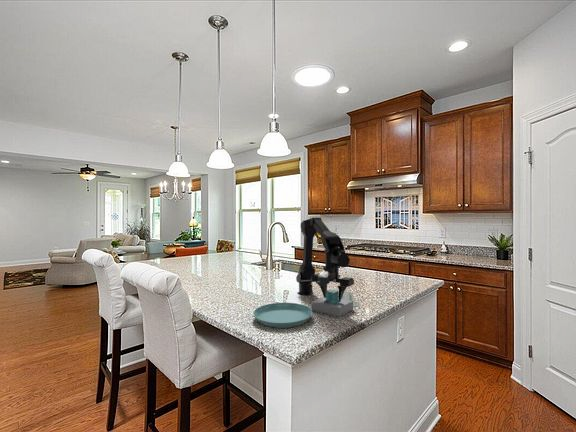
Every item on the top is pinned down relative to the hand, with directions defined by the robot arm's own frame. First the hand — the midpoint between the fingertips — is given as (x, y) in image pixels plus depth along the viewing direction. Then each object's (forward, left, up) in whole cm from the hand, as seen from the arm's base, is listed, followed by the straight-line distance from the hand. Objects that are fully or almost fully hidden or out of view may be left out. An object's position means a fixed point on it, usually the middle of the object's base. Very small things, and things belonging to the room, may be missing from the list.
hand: (332, 299), depth 132 cm
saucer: (-11, -21, -6) cm, 24 cm away
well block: (0, 0, -5) cm, 5 cm away
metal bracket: (-2, +13, -6) cm, 14 cm away
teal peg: (0, 0, -4) cm, 4 cm away
